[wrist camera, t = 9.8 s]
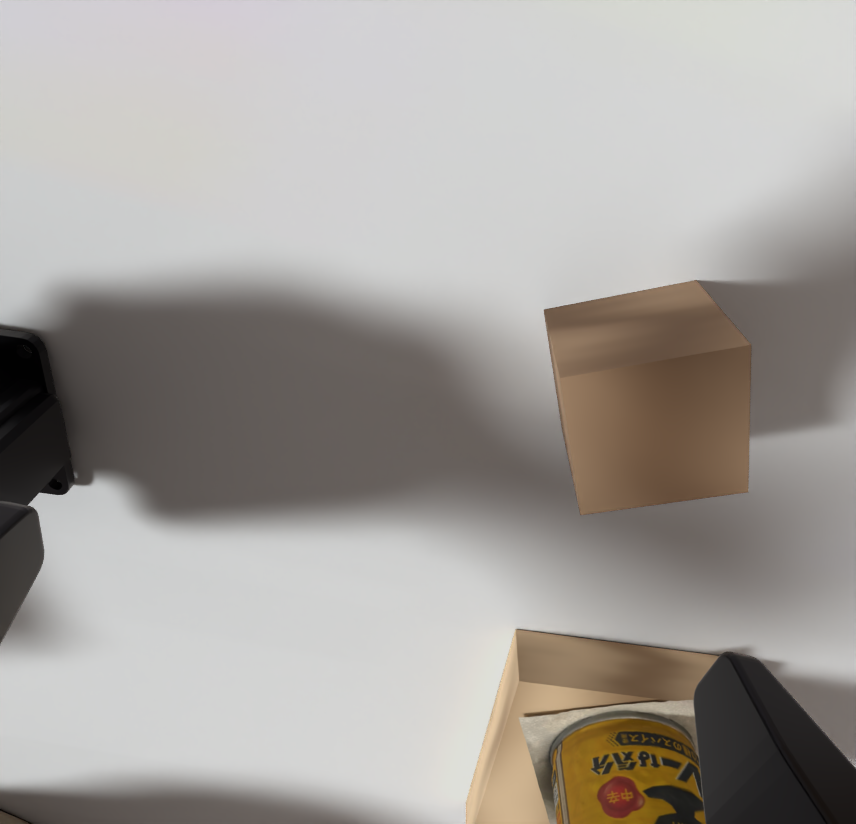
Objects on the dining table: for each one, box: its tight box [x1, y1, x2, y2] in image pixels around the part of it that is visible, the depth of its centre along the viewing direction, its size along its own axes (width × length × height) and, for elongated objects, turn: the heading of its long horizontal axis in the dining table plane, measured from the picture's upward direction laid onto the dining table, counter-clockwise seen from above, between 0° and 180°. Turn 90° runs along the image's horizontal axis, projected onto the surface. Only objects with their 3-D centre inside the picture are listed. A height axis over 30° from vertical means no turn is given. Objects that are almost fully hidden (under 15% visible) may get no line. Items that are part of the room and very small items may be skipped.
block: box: [544, 280, 751, 515], centre depth 19 cm, size 4×4×4 cm
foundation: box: [466, 630, 719, 824], centre depth 29 cm, size 9×14×6 cm, turn 173°
